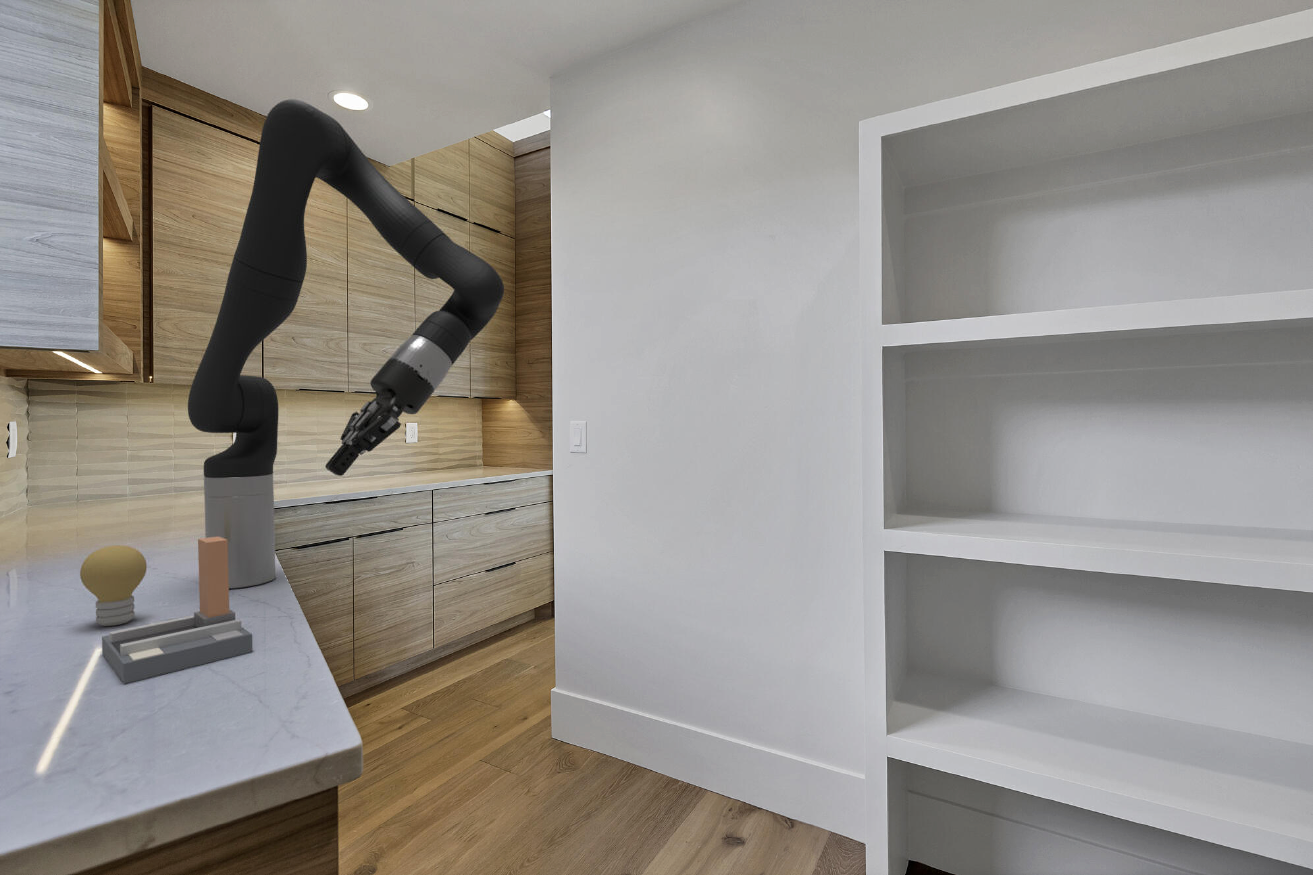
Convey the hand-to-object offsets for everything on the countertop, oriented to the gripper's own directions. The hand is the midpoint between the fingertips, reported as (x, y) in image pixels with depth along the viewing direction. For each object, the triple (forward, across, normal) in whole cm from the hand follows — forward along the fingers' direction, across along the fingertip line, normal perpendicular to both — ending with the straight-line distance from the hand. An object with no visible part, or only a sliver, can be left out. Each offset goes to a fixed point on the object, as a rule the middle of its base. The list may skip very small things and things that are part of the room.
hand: (332, 472), depth 82 cm
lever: (+22, +3, 0) cm, 22 cm away
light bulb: (+28, -16, -4) cm, 33 cm away
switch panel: (+26, +3, -1) cm, 26 cm away
